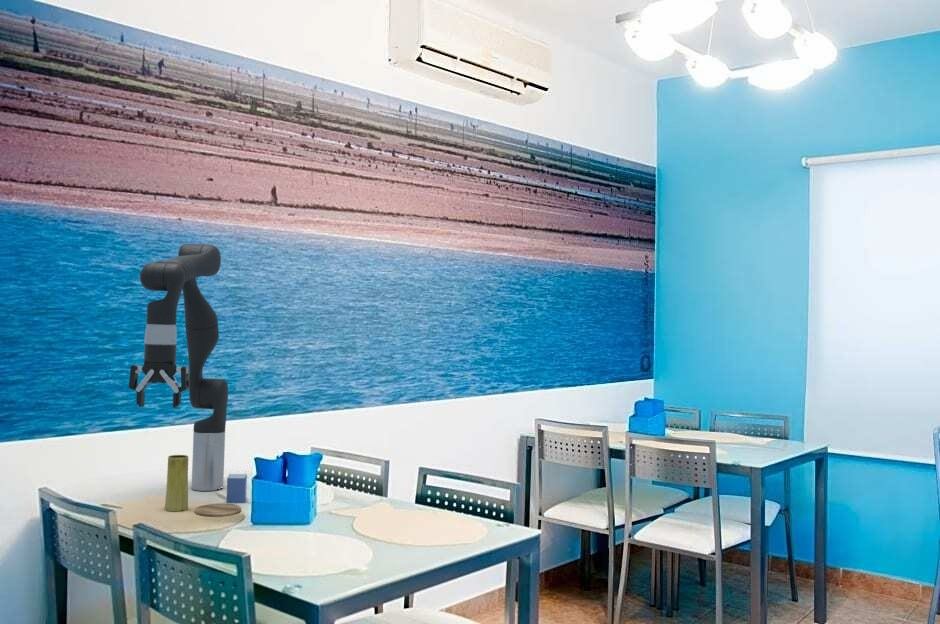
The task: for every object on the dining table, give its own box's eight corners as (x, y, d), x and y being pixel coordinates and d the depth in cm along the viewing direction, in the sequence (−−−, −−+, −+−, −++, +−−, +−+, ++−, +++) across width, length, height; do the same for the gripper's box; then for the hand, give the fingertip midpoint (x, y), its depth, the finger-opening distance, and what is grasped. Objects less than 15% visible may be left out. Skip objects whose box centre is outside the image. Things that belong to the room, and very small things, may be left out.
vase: (180, 512, 227) (182, 458, 227) (159, 510, 228) (161, 457, 228) (192, 507, 233) (194, 455, 233) (172, 505, 234) (174, 453, 234)
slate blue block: (228, 499, 245) (229, 470, 245) (246, 499, 246) (247, 470, 246) (226, 503, 240) (227, 474, 240) (244, 503, 241) (245, 474, 241)
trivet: (202, 505, 236) (202, 502, 236) (246, 507, 236) (246, 503, 236) (188, 515, 224) (188, 512, 224) (234, 517, 224) (234, 513, 224)
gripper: (193, 343, 218) (191, 406, 218) (137, 341, 218) (135, 404, 218) (184, 344, 210) (181, 409, 210) (126, 342, 210) (123, 408, 210)
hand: (158, 407), depth 214 cm, fingers open, 8 cm apart
